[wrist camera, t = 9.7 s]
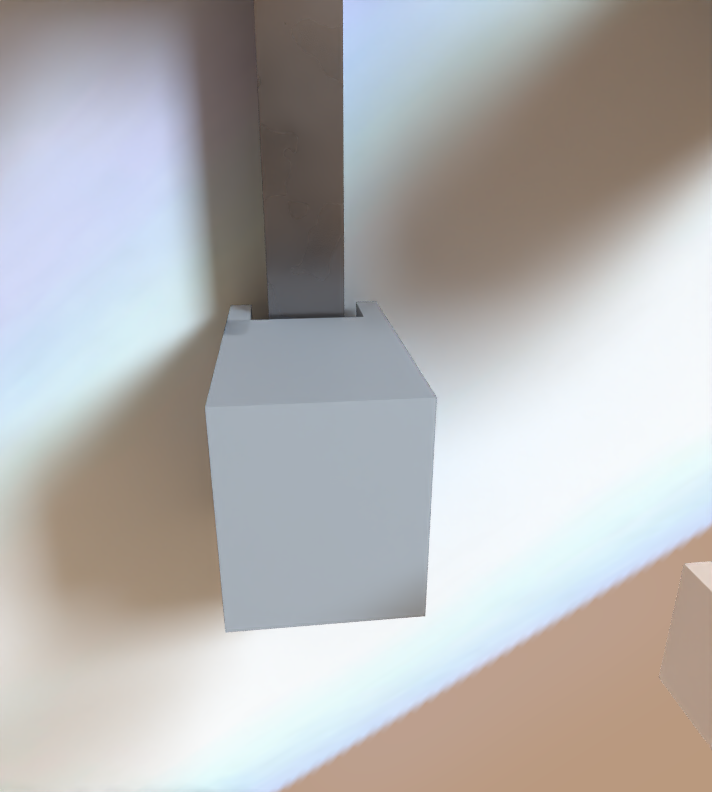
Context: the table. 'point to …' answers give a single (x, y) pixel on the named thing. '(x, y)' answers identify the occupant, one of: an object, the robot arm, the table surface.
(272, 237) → the rail
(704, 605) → the robot arm
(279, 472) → the block
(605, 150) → the table surface
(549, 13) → the table surface
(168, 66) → the table surface
